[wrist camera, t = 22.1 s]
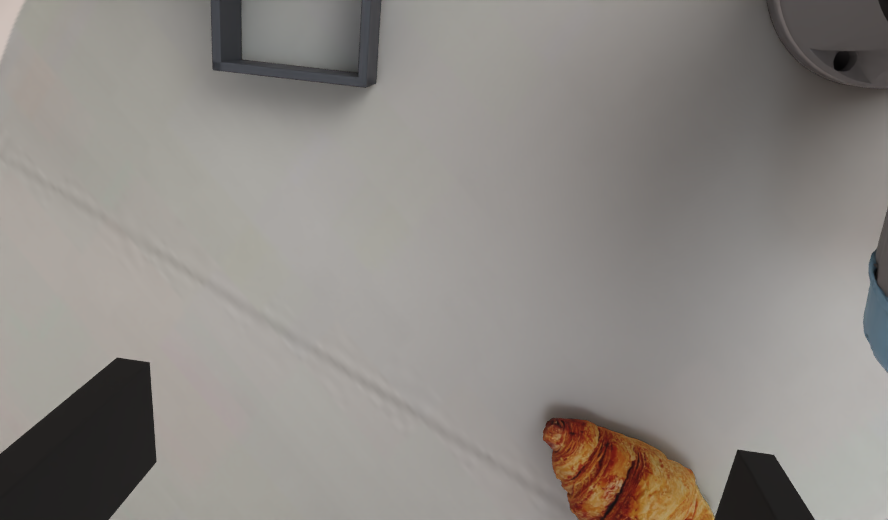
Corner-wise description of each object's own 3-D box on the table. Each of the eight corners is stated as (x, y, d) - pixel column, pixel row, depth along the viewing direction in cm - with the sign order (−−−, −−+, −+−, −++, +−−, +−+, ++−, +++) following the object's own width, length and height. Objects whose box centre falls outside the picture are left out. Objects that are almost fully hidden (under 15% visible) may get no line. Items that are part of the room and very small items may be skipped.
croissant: (723, 509, 57) (792, 548, 49) (661, 602, 55) (723, 657, 48) (562, 369, 53) (610, 387, 45) (490, 465, 51) (528, 501, 43)
